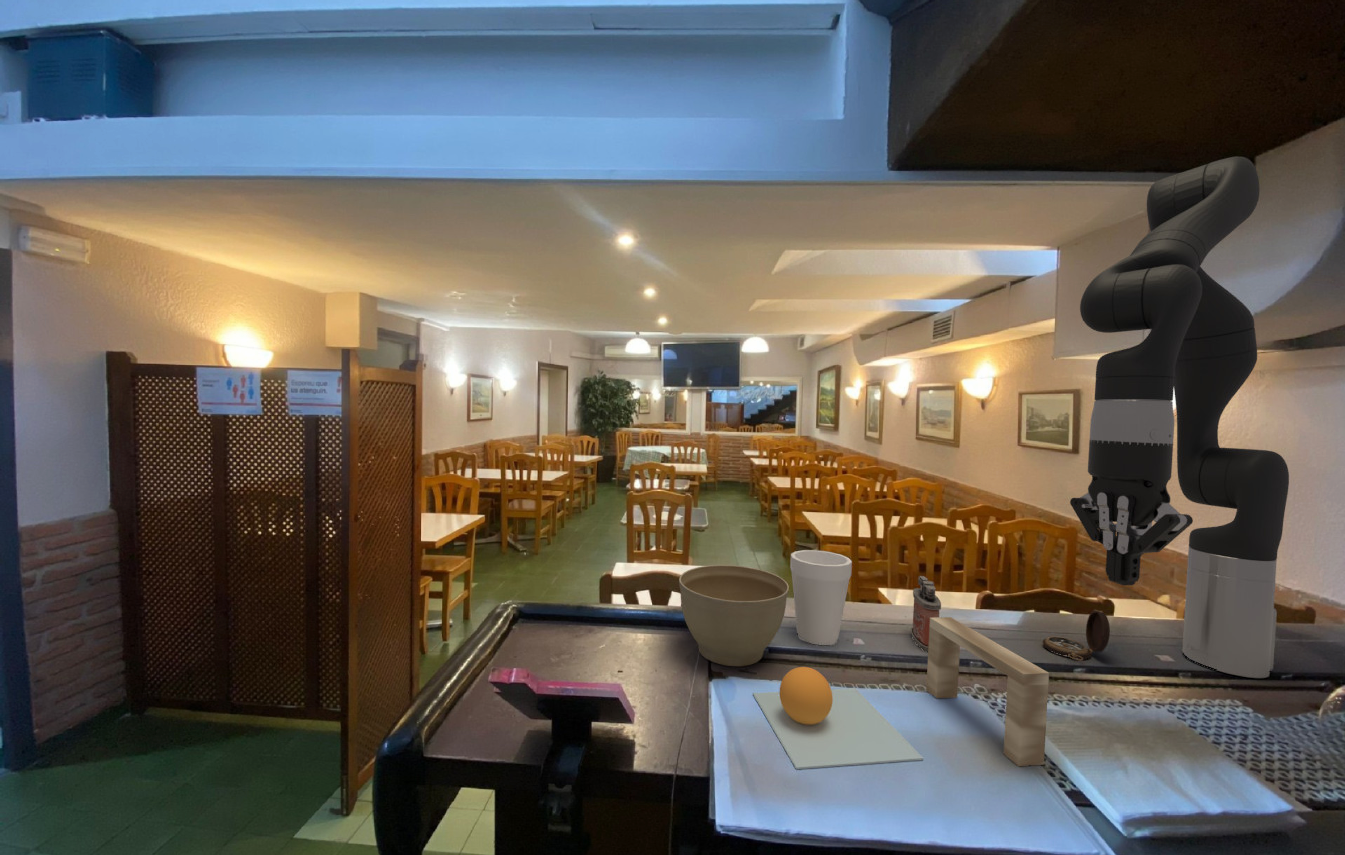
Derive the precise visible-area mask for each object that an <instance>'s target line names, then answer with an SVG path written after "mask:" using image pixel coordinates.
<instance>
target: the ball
mask: <svg viewBox="0 0 1345 855" xmlns="http://www.w3.org/2000/svg"><path fill="white" fill-rule="evenodd" d="M831 689H832V688H831V686H830V683H829V681H828V680H827V679H826V677H825V676H824V675H822V673H820V672H819V671H818V670H816V669H814V668H813V667H812V668H811V667H807V666H799V667H795V668H792V669H791V670H789V671H788V672H787V673H786V674H785V675H784V676H783V678H782V679H781V682H780V686H779V692H780V700H781V704H782V706H783V708H784V710H785V712H786V713H787V714H788V715H789V716H790V717H791V718H792V719H793V720H795V721H797V722H799V723H801V724H806V725H813V724H817V723H819V722H821V721H822V720H824V719H825V718H826V717H827V715H828V714H829V712H830V710H831V707H832V701H833V697H832V691H831Z"/></svg>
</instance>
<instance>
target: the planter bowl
mask: <svg viewBox="0 0 1345 855" xmlns="http://www.w3.org/2000/svg"><path fill="white" fill-rule="evenodd" d="M678 584H679V590H680V605H681V611H682V615H683V618H684V621H685V623H686V626H687V627H688V630H689V631H690V634H691V635H692V637H693V639H694V640H695V641H696V643H697V646H698V651H699V653H700V655H701V656H703V657H704V659H707V660H708V661H710V662H712V663H715V664H719V665H722V666H727V667H745V666H750V665H753V664H757V663H758V662H759V661H760V660H762V658H763V656H764V653H765V649H766V648H767V647H768V646H769V645H770V644H771V643H772V641H773V640H774V639H775V637H776V635H777V633H778V632H779V630H780V628H781V625H782V622H783V619H784V616H785V613H786V612H785V611H786V606H787V598H788V596H789V590H790V587H789V584H788V582H787V581H786V580H785V579H783V578H782V577H781V576H779V575H777V574H774V573H772V572H769V571H767V570H762V569H760V568H759V569H758V568H753V567H748V566H742V565H732V564H715V565H713V564H712V565H704V566H703V565H702V566H698V567H693V568H690V569H688V570H686V571H684V572H683V573H681V575H680V576H679V579H678Z"/></svg>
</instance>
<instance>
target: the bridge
mask: <svg viewBox="0 0 1345 855" xmlns="http://www.w3.org/2000/svg"><path fill="white" fill-rule="evenodd" d="M961 648H963V649H964V650H966V651H967V652H969V653H971V654H972V655H974V656H975V657H977V658H978V659H980V660H982V661H983V662H985V663H987V665H990V666H991V667H993V668H994V669H996V670H997V671H999V672H1001V673H1002V674H1004V675H1005V676H1007V682H1006V683H1007V684H1006V685H1007V686H1006V704H1005V721H1004V739H1003V741H1004V742H1003V755H1004V756H1006V758H1007V759H1009V760H1010V761H1012V763H1014V764H1015V765H1017V766H1018V767H1029V765H1031V766H1040V765H1042V766H1043V765H1045V755H1046V754H1045V753H1046V752H1045V749H1046V736H1047V734H1046V731H1047V717H1048V716H1047V715H1048V700H1049V699H1048V698H1049V679H1050V676H1049V675H1050V672H1048V671H1047V670H1044V669H1042V667H1039V666H1038V665H1036V664H1035V663H1032V662H1031V661H1029V660H1028V659H1025V658H1023V657H1021V656H1020V655H1018V654H1017V653H1015V652H1013V651H1011V650H1010V649H1008V648H1006V647H1004V646H1002V645H1001V644H998V643H997V642H995V641H993V640H992V639H990V638H988V637H986V636H985V635H983V634H981V633H979V632H977V631H976V630H974V629H973V628H970V627H969V626H967V625H965V624H963V623H962V622H960V621H958V620H957V619H954V618H953V617H951V616H945V617H944V616H943V617H941V616H939V617H936V618H930V627H929V647H928V652H927V670H926V671H927V673H926V685H925V686H926V689H925V690H926V692H928V693H929V694H930V695H931V696H933V695H934V696H935V697H936V698H938V699H949V698H950V699H951V698H958V694H959V693H958V689H959V671H960V653H961V652H960V651H961V650H960V649H961ZM934 696H933V697H934ZM935 697H934V698H935ZM936 698H935V699H936Z"/></svg>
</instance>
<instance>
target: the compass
mask: <svg viewBox="0 0 1345 855" xmlns="http://www.w3.org/2000/svg"><path fill="white" fill-rule="evenodd" d="M1086 621H1087V622H1086V626H1085V627H1086V628H1085V638H1086V643H1087V645H1088V648H1087V647H1086V646H1085V644H1083V643H1081V642H1080V641H1076V640H1073V639H1070V638H1067V637H1062V636H1050V637H1047V638H1044V639H1042V642H1041V644H1042V647H1043V646H1044V647H1045V648H1047V649H1048V650H1049V652H1050V651H1053V652H1055V653H1058V654H1061V655H1067V656H1069V657H1070V658H1069V659H1071V658H1072V659H1073V660H1076V661H1083V659H1084V660H1088V659H1090V658H1091V656H1092V653H1094V652H1097V653H1102V652H1103V651H1104V650H1105V649H1106V648H1107V646H1108V643H1109V641H1110V635H1111V634H1110V632H1111V630H1110V623H1109V622H1110V621H1109V618H1108V616H1107V615H1106V613H1105V612H1104V611H1102V610H1097V609H1093V610H1092V612H1090V614H1089V615H1088V618H1087V620H1086ZM1044 647H1043V648H1044ZM1045 648H1044V649H1045ZM1047 649H1046V650H1047ZM1048 650H1047V651H1048ZM1075 658H1078V659H1075ZM1087 658H1088V659H1087Z"/></svg>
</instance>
